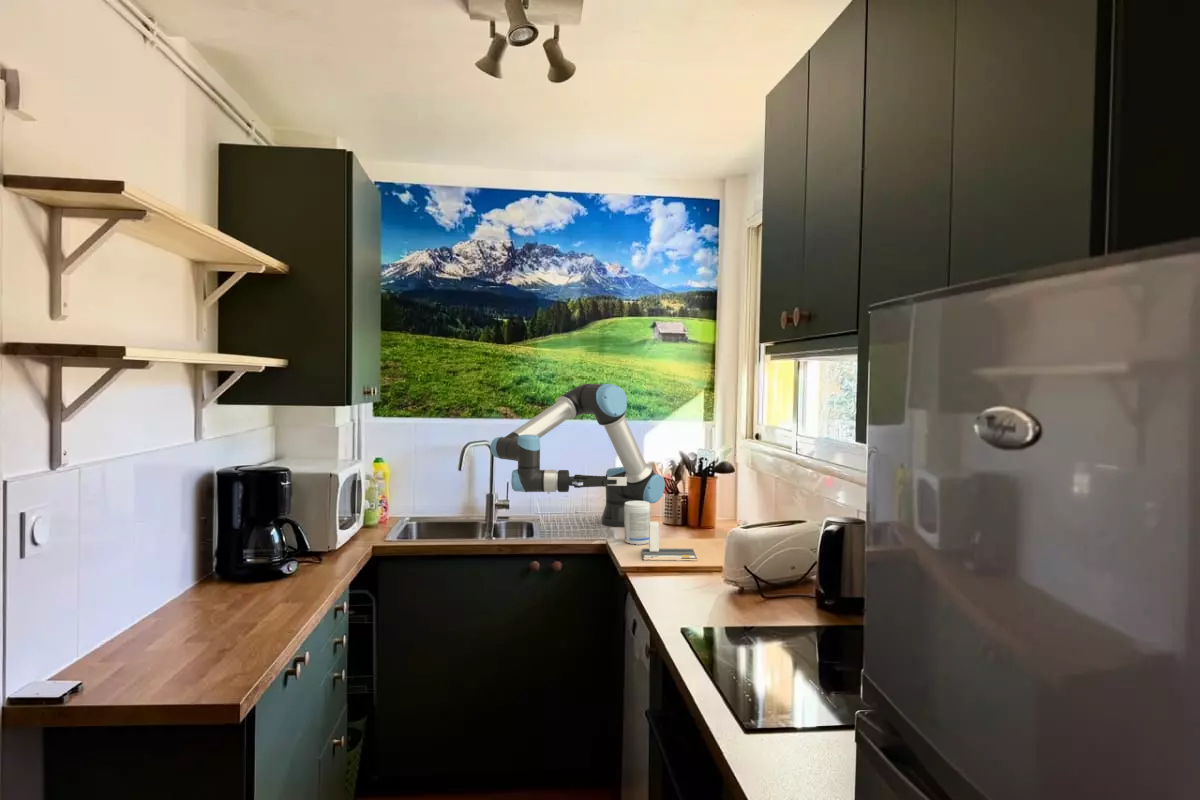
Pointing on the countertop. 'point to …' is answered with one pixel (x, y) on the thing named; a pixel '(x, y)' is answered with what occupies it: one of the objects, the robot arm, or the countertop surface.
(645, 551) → the switch housing
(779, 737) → the countertop surface
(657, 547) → the switch tab
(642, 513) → the supplement tub
